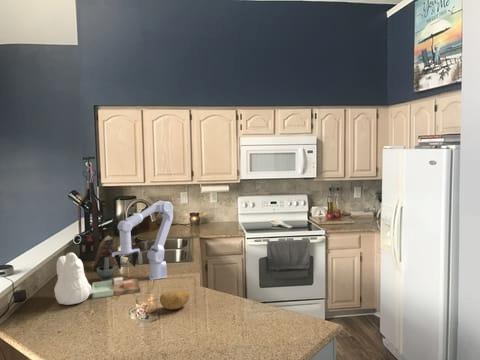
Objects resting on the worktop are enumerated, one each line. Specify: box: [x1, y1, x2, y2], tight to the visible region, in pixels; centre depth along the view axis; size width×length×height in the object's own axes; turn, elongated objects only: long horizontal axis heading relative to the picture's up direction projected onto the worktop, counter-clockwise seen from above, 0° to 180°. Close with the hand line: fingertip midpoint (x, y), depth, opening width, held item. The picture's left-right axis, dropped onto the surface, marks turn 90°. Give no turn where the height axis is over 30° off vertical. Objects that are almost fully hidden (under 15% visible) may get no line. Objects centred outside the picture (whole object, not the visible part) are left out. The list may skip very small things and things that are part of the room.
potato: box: [159, 289, 191, 311], centre depth 173 cm, size 10×14×8 cm
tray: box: [91, 279, 115, 300], centre depth 197 cm, size 10×17×3 cm, turn 20°
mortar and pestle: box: [96, 257, 116, 282], centre depth 216 cm, size 11×9×12 cm
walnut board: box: [112, 278, 141, 297], centre depth 201 cm, size 13×17×2 cm
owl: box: [92, 234, 115, 270], centre depth 237 cm, size 13×13×20 cm
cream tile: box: [113, 276, 124, 285], centre depth 205 cm, size 4×4×2 cm
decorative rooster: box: [53, 251, 92, 306], centre depth 186 cm, size 25×16×25 cm, turn 34°
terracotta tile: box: [123, 279, 133, 288], centre depth 199 cm, size 4×4×2 cm
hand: (127, 267), depth 207 cm, fingers open, 7 cm apart
